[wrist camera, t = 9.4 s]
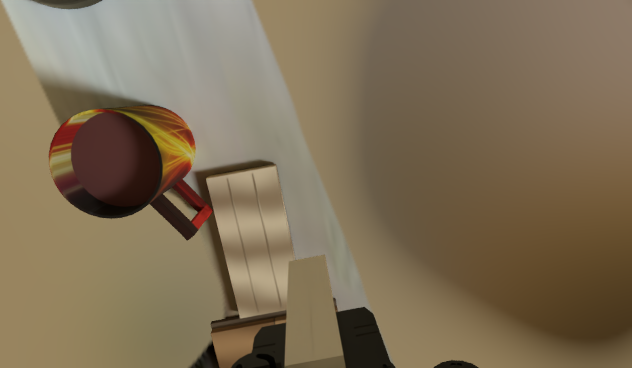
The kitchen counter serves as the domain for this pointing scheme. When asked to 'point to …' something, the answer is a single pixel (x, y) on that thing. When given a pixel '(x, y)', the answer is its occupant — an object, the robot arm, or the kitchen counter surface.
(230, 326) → the floorboard
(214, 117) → the kitchen counter surface
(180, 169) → the mug
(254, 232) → the plank
